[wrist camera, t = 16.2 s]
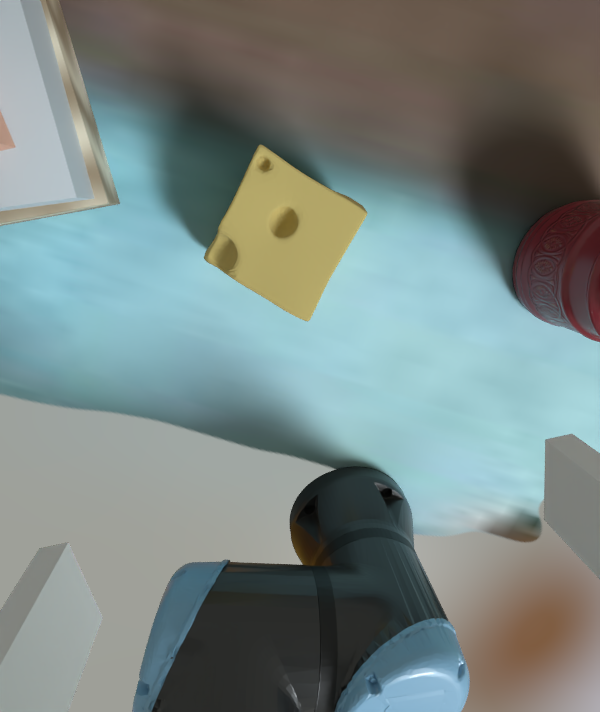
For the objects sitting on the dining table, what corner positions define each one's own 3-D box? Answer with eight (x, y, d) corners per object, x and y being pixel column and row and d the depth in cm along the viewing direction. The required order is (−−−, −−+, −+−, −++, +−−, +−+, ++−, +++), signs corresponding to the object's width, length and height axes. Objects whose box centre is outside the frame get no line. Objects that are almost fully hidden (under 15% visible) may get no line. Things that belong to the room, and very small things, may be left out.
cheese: (206, 252, 43) (193, 265, 33) (258, 149, 40) (260, 131, 31) (297, 302, 45) (308, 327, 36) (351, 208, 43) (378, 209, 33)
